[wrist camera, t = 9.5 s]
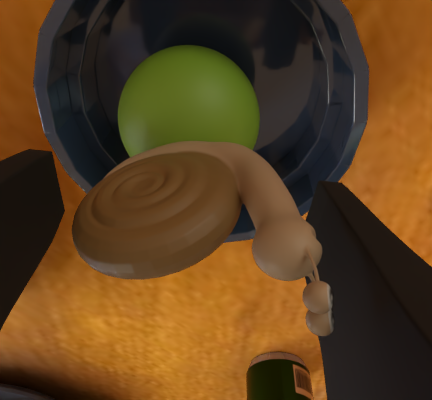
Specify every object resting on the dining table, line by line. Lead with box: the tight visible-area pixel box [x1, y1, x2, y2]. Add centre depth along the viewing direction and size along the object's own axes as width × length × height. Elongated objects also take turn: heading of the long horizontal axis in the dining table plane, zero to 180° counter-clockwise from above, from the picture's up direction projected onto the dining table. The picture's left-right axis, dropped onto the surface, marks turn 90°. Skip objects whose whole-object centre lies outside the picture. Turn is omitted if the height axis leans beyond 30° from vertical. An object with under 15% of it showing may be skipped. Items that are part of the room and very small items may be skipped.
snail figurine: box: [72, 45, 335, 336], centre depth 11 cm, size 5×6×12 cm
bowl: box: [33, 0, 369, 243], centre depth 15 cm, size 12×12×4 cm
